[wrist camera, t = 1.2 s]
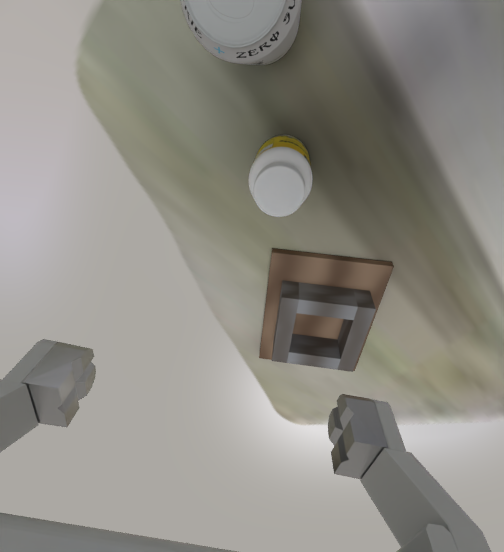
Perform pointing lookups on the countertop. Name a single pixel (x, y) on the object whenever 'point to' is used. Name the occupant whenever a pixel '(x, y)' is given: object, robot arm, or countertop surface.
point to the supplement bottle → (281, 176)
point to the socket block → (320, 308)
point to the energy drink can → (244, 28)
